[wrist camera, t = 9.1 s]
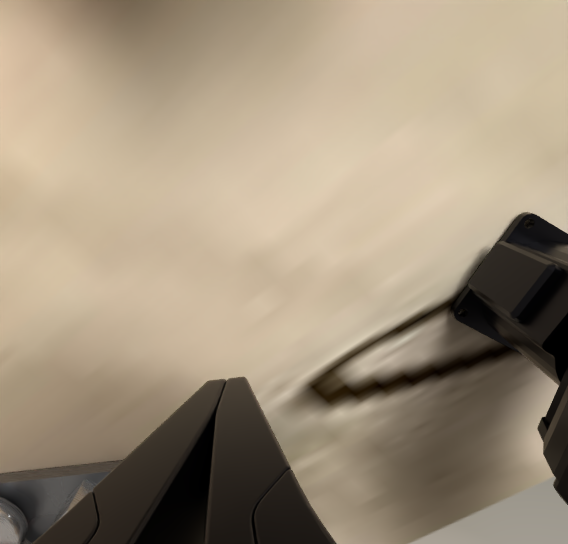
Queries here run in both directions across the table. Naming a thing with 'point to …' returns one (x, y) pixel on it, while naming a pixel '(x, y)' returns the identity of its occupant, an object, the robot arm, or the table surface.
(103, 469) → the base
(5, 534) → the lever
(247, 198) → the table surface
